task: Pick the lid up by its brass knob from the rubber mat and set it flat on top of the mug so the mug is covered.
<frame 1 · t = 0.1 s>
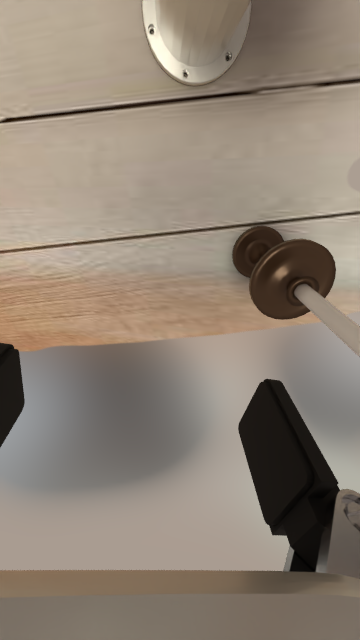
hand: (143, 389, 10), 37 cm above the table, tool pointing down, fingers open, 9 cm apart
candlestick: (257, 252, 45), on the table
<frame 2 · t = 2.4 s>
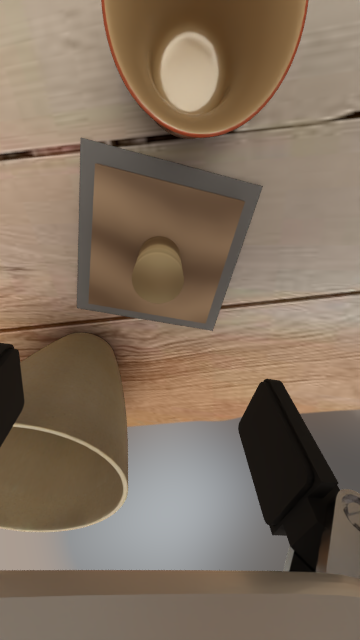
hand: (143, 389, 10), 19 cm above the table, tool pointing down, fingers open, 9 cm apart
mug: (196, 56, 19), on the table
mat: (160, 252, 26), on the table
lid: (159, 253, 26), resting on mat
plant pot: (85, 353, 33), on the table
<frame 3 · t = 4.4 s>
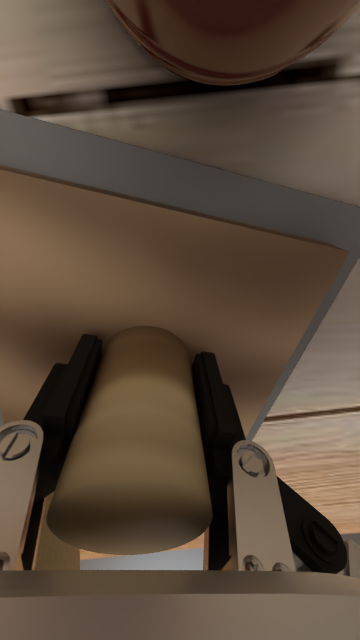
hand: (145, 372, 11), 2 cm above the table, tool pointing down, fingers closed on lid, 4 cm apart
mat: (148, 341, 13), on the table
lid: (147, 347, 12), resting on mat, touching gripper
plant pot: (25, 484, 19), on the table
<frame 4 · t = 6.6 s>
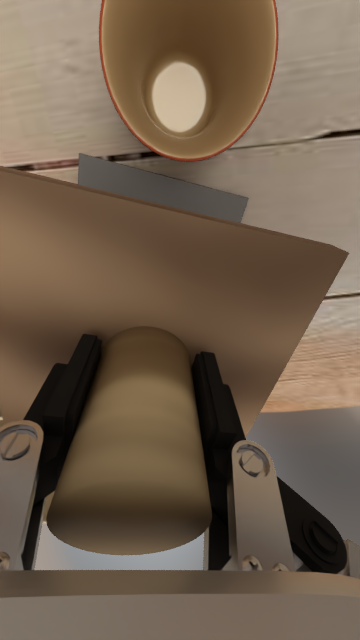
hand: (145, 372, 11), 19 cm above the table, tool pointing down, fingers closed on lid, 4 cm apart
mug: (186, 81, 21), on the table
mat: (153, 258, 28), on the table
lid: (147, 347, 12), point 17 cm above the table, touching gripper
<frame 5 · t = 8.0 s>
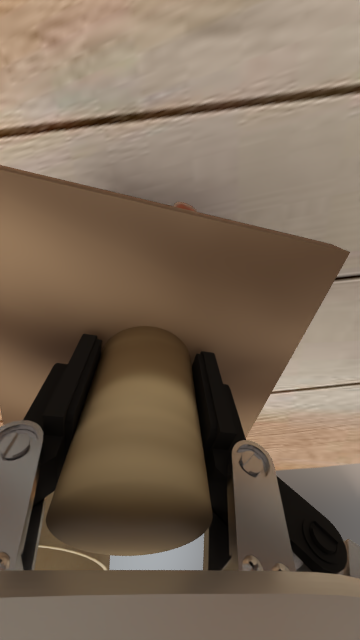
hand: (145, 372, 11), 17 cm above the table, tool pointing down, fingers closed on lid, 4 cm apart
lid: (147, 347, 12), point 15 cm above the table, touching gripper
plant pot: (79, 433, 39), on the table
when the fingers open (13 cm above the table, at t = 8.9 s): lid drops 1 cm, resting on mug.
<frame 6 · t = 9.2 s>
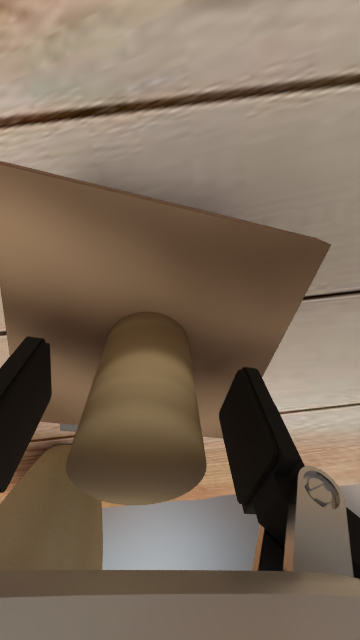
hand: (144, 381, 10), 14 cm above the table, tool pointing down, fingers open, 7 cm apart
lid: (149, 333, 13), point 10 cm above the table, touching mug
plant pot: (70, 457, 36), on the table
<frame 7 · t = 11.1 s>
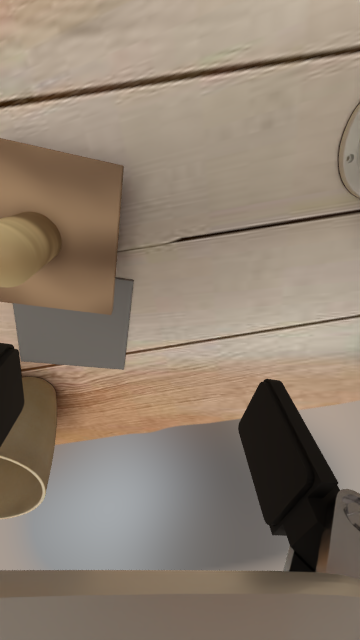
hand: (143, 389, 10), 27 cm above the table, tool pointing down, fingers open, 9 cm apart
mat: (74, 322, 38), on the table
lid: (41, 234, 22), point 10 cm above the table, touching mug
plant pot: (33, 390, 44), on the table
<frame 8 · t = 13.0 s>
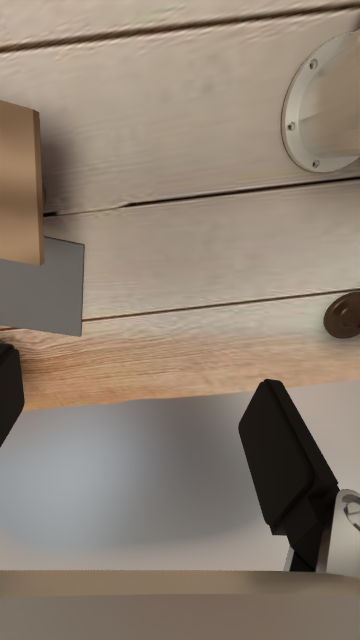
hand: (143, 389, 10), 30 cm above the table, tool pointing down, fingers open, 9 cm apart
mat: (29, 285, 39), on the table
candlestick: (348, 314, 45), on the table
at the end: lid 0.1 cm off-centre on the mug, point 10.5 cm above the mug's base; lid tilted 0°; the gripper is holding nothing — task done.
